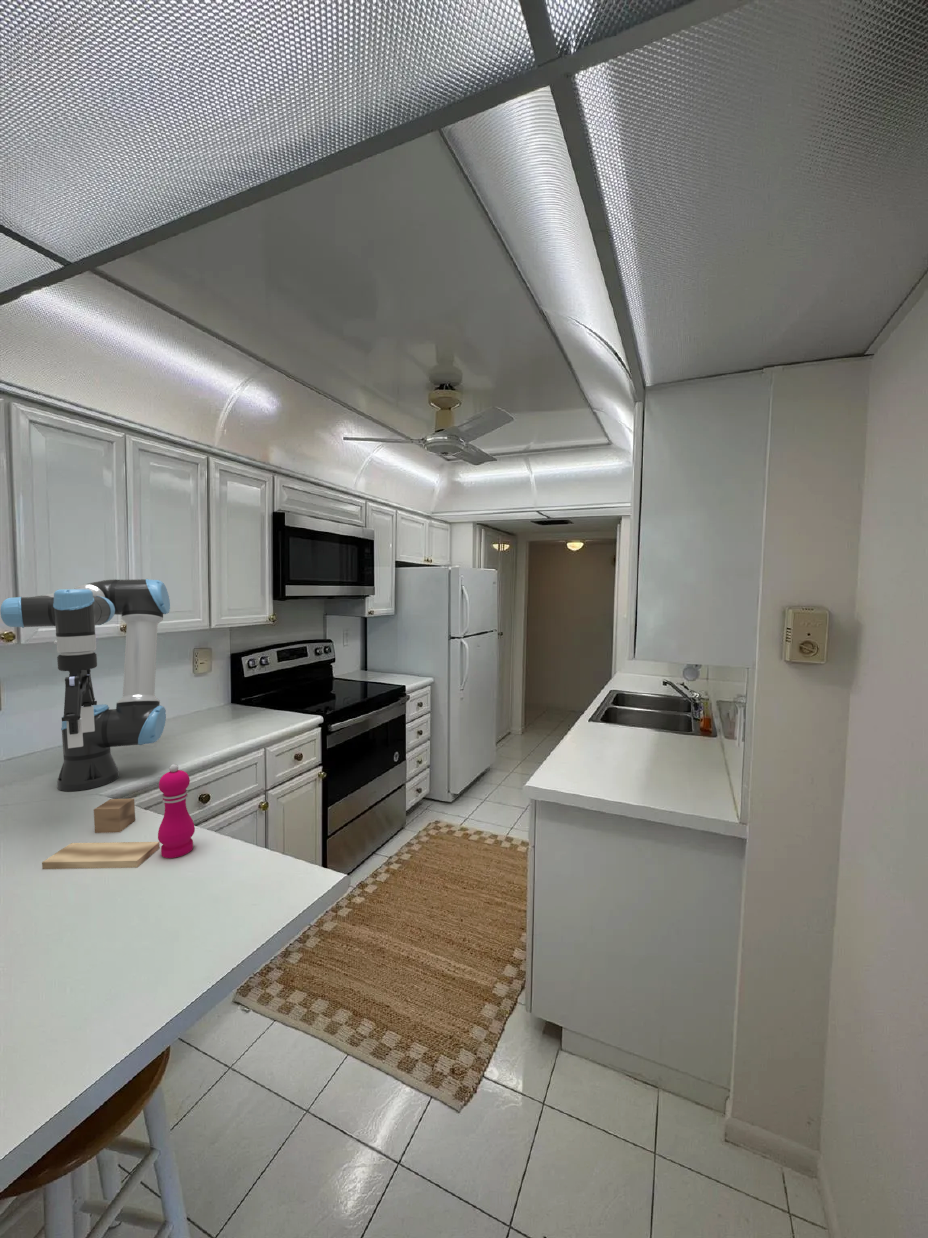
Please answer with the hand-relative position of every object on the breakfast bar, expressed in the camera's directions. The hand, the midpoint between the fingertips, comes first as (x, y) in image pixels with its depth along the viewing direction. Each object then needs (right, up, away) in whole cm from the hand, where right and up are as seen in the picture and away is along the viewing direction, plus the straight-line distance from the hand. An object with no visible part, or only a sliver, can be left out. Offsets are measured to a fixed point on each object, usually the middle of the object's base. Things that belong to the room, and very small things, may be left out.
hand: (82, 739), depth 121 cm
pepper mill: (+29, -23, -9) cm, 38 cm away
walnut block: (+6, -23, +3) cm, 24 cm away
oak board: (+14, -24, -12) cm, 30 cm away
